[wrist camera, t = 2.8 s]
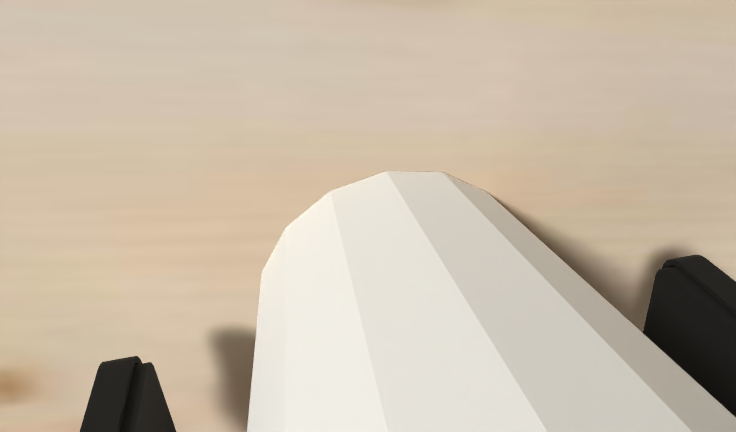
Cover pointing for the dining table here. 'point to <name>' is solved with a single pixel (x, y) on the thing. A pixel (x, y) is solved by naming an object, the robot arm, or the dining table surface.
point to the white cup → (448, 326)
